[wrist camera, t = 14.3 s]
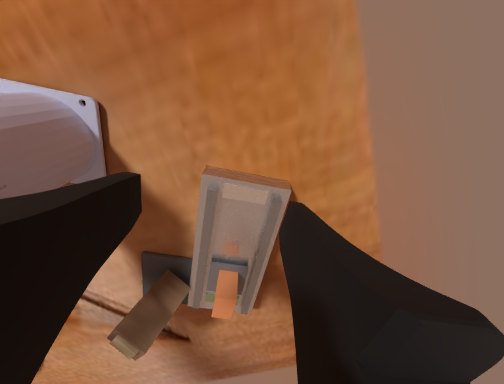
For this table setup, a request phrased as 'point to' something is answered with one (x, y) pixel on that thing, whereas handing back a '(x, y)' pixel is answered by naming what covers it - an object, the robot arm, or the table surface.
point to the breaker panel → (235, 230)
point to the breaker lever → (226, 287)
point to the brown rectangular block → (149, 316)
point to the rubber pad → (164, 269)
